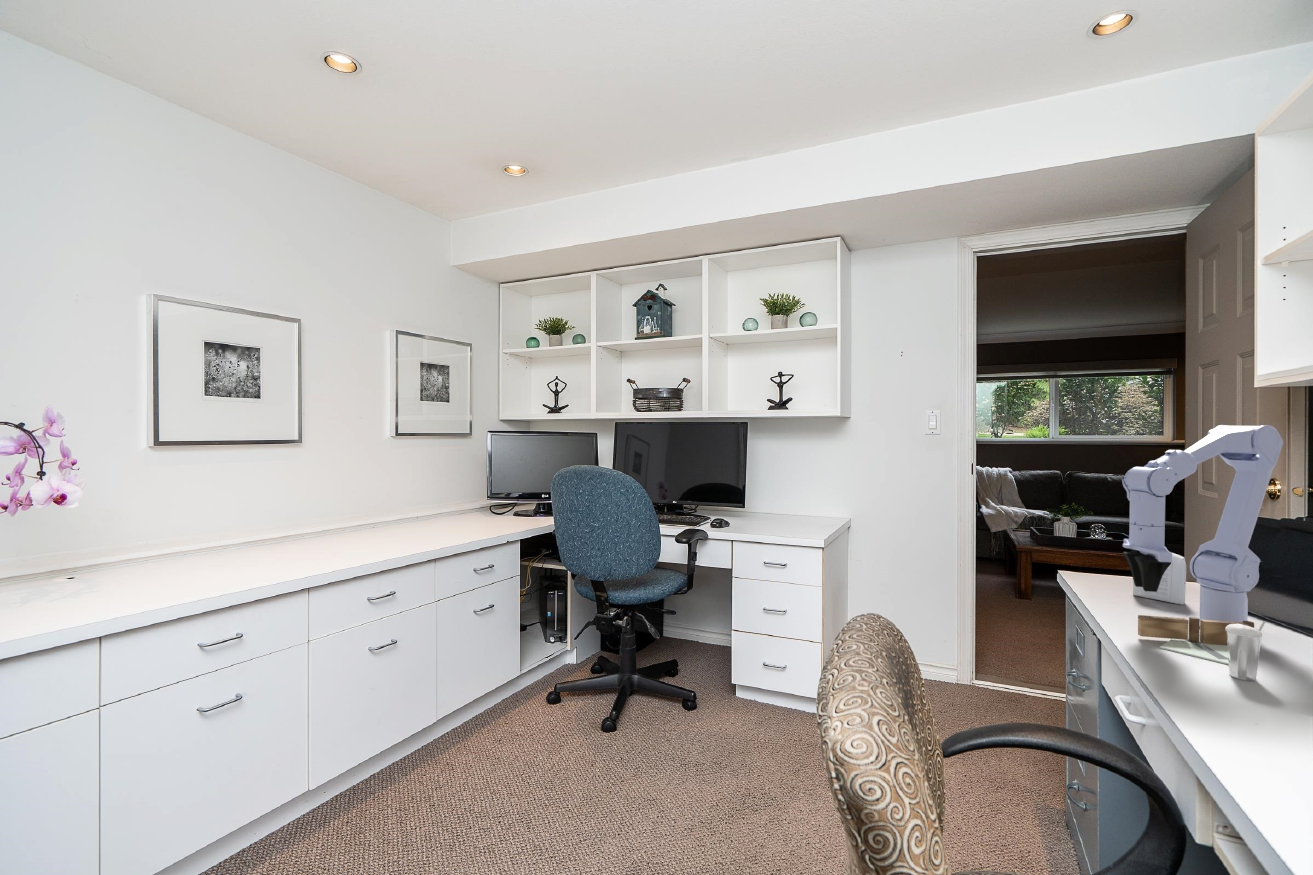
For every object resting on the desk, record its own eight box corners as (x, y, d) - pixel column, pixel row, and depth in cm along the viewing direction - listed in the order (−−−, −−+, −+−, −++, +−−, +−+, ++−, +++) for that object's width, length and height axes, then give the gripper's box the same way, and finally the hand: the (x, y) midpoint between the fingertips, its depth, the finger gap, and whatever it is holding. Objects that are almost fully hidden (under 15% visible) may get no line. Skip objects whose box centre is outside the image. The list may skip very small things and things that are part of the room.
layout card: (1184, 632, 125) (1184, 630, 125) (1257, 648, 116) (1257, 646, 116) (1160, 648, 117) (1159, 646, 117) (1236, 666, 108) (1236, 665, 108)
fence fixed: (1186, 641, 120) (1187, 616, 120) (1250, 646, 118) (1250, 620, 117) (1191, 643, 119) (1191, 619, 119) (1255, 649, 116) (1256, 623, 116)
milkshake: (1274, 684, 100) (1275, 625, 100) (1237, 681, 101) (1238, 623, 101) (1253, 673, 105) (1254, 617, 105) (1217, 670, 106) (1218, 615, 106)
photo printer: (1187, 602, 146) (1188, 552, 146) (1182, 605, 144) (1183, 555, 143) (1136, 593, 155) (1136, 545, 154) (1130, 595, 152) (1131, 547, 152)
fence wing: (1184, 637, 120) (1184, 618, 120) (1188, 639, 119) (1188, 620, 119) (1137, 634, 122) (1138, 614, 122) (1141, 636, 121) (1141, 616, 121)
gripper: (1108, 518, 132) (1107, 578, 133) (1142, 529, 118) (1141, 597, 119) (1145, 519, 131) (1144, 580, 131) (1185, 531, 117) (1183, 599, 117)
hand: (1145, 588), depth 125 cm, fingers open, 3 cm apart
